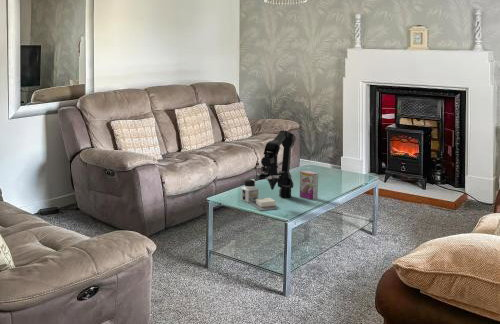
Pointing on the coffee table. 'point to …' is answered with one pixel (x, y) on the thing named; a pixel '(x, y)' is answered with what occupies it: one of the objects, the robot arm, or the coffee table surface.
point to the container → (249, 191)
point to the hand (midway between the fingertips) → (272, 189)
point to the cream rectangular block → (265, 202)
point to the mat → (262, 207)
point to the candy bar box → (309, 185)
